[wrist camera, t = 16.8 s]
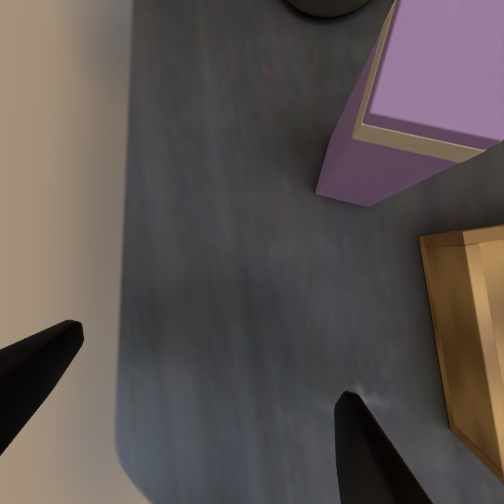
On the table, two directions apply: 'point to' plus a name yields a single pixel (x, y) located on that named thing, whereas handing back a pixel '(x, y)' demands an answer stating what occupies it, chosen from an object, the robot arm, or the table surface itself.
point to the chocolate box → (419, 100)
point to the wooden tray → (470, 334)
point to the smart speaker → (327, 6)
